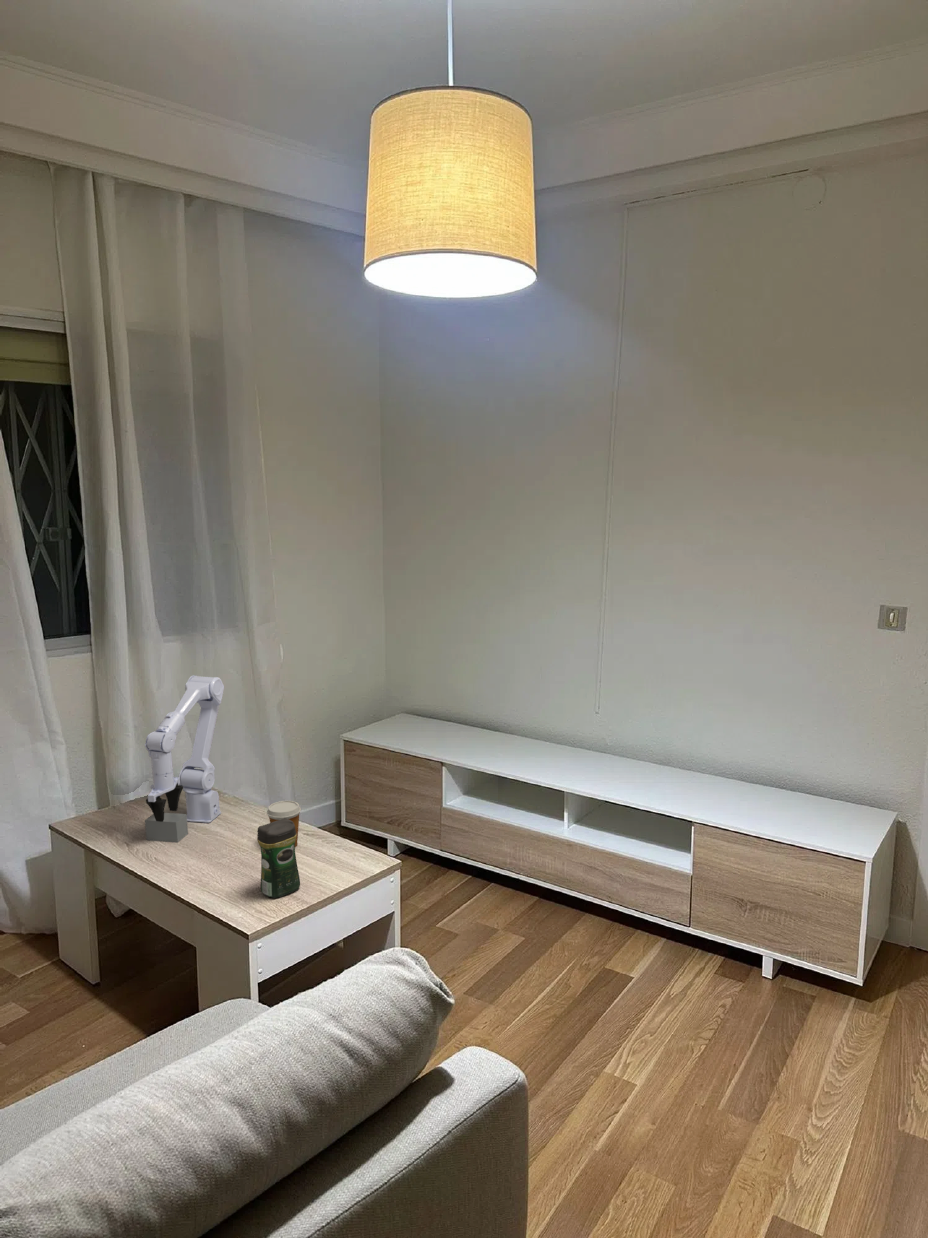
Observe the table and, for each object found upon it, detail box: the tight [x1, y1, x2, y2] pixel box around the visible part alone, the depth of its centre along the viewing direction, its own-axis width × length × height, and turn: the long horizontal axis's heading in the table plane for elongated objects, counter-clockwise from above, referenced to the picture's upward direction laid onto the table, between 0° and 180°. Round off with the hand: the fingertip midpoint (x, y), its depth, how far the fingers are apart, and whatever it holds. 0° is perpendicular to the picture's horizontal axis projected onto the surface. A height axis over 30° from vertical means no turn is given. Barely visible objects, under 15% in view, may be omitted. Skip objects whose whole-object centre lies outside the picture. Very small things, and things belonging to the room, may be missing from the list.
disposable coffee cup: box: [266, 800, 302, 848], centre depth 254 cm, size 10×10×12 cm
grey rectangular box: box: [144, 812, 189, 843], centre depth 262 cm, size 10×6×6 cm, turn 78°
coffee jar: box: [256, 818, 301, 899], centre depth 228 cm, size 10×8×19 cm
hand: (166, 815), depth 262 cm, fingers open, 7 cm apart
